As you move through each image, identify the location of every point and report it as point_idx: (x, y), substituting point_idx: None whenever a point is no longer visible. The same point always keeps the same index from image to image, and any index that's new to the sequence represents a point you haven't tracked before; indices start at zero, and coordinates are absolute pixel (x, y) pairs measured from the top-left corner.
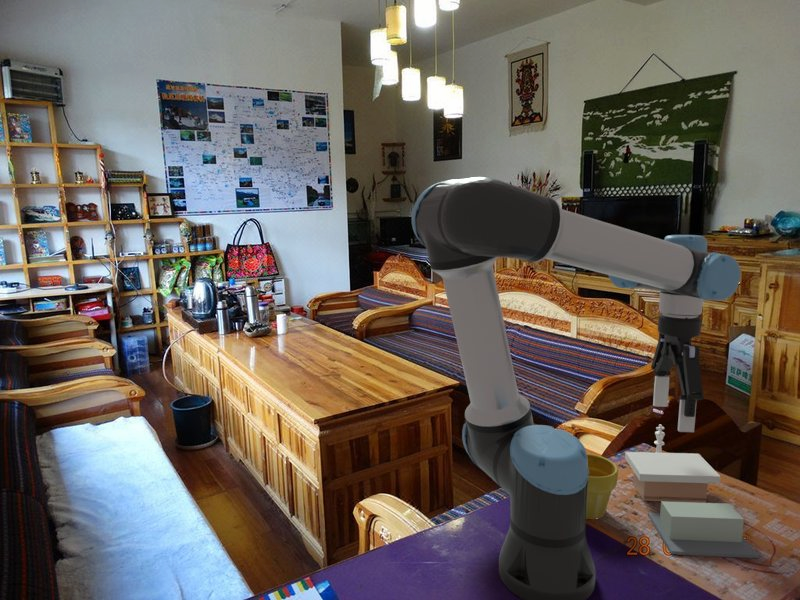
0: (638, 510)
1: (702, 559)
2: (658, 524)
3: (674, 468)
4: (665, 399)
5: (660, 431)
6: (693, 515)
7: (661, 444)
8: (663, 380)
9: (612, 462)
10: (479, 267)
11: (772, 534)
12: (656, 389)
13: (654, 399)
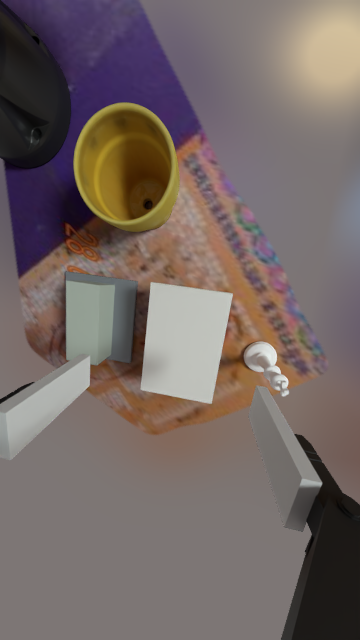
0: (149, 275)
1: (63, 298)
2: (112, 282)
3: (166, 343)
4: (256, 427)
5: (279, 384)
6: (69, 308)
7: (264, 373)
8: (283, 487)
9: (132, 221)
10: None
11: (104, 387)
12: (274, 428)
13: (264, 398)
